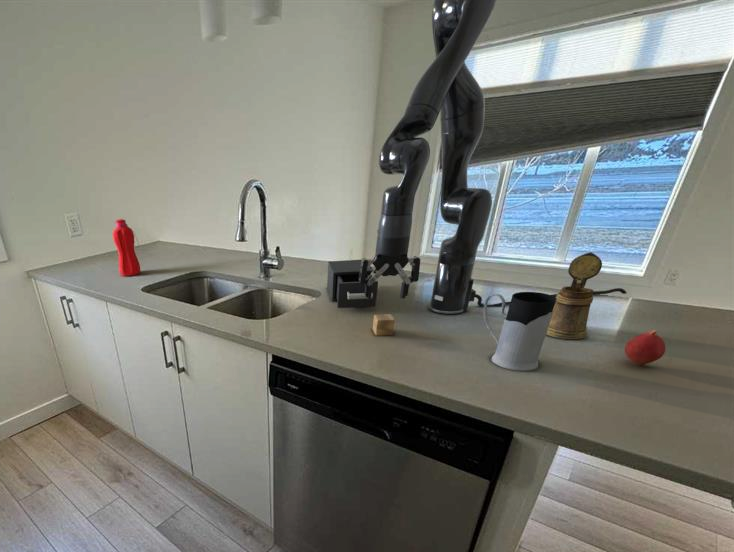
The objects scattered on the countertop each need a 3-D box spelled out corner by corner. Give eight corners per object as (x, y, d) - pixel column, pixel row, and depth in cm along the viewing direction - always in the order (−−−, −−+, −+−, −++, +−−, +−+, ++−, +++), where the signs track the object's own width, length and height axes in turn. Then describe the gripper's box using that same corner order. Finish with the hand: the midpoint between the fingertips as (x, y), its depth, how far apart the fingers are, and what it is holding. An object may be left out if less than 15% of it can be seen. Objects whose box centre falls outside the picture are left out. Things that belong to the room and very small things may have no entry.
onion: (611, 360, 87) (626, 326, 83) (636, 357, 88) (652, 323, 84) (637, 372, 82) (654, 337, 78) (664, 369, 83) (682, 333, 79)
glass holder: (520, 374, 86) (542, 306, 78) (461, 351, 97) (475, 290, 90) (547, 364, 88) (570, 298, 81) (487, 342, 100) (502, 283, 92)
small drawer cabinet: (371, 299, 134) (374, 270, 130) (332, 301, 136) (333, 272, 131) (362, 286, 148) (364, 259, 143) (327, 287, 150) (328, 261, 145)
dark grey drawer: (378, 311, 122) (381, 286, 118) (339, 313, 123) (341, 288, 119) (366, 292, 138) (368, 269, 134) (332, 294, 140) (333, 271, 136)
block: (388, 329, 112) (390, 314, 110) (392, 335, 108) (394, 319, 106) (372, 329, 113) (374, 314, 111) (375, 335, 109) (377, 320, 107)
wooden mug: (587, 324, 104) (615, 253, 95) (584, 342, 96) (613, 266, 87) (545, 318, 110) (567, 250, 101) (538, 335, 101) (562, 262, 92)
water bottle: (142, 275, 191) (131, 219, 179) (119, 277, 191) (107, 221, 179) (145, 270, 199) (136, 216, 187) (123, 272, 200) (112, 219, 187)
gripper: (366, 238, 96) (360, 303, 104) (429, 234, 94) (418, 301, 102) (361, 232, 102) (355, 294, 110) (420, 229, 100) (410, 293, 108)
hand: (385, 298), depth 106 cm, fingers open, 8 cm apart
